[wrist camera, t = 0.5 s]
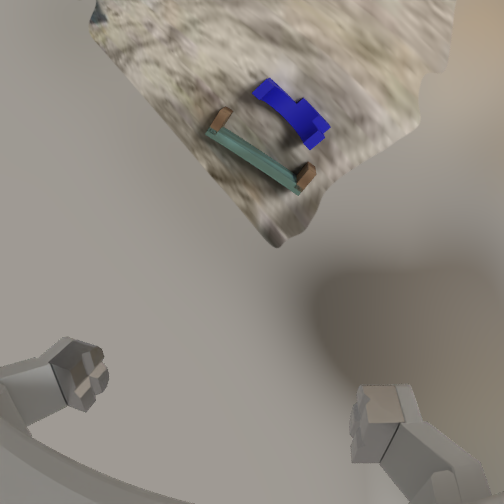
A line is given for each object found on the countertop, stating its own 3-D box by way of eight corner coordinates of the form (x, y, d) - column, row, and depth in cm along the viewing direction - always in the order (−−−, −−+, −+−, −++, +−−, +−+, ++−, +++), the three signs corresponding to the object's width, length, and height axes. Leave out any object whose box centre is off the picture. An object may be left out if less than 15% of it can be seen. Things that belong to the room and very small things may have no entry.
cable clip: (328, 123, 47) (332, 131, 42) (308, 141, 49) (309, 150, 45) (276, 71, 44) (274, 72, 39) (256, 89, 46) (251, 93, 41)
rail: (225, 106, 48) (220, 109, 44) (315, 166, 52) (316, 174, 48) (211, 129, 50) (204, 134, 47) (298, 186, 54) (298, 196, 51)
